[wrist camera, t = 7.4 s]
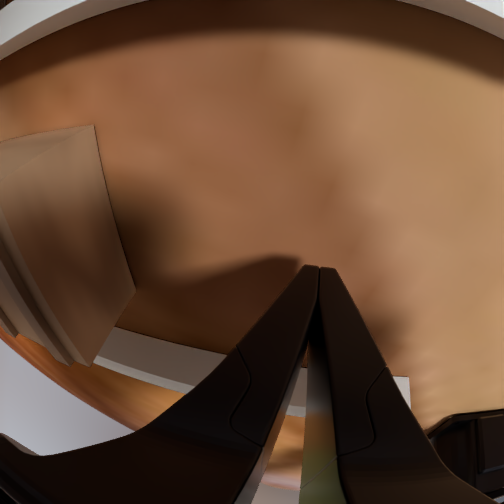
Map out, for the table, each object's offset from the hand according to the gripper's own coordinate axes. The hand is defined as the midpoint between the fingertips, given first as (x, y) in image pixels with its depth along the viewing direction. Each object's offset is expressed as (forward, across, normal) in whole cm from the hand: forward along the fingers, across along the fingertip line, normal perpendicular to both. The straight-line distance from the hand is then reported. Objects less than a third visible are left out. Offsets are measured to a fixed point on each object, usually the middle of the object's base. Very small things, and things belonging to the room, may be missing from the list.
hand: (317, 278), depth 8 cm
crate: (+1, +10, 0) cm, 10 cm away
